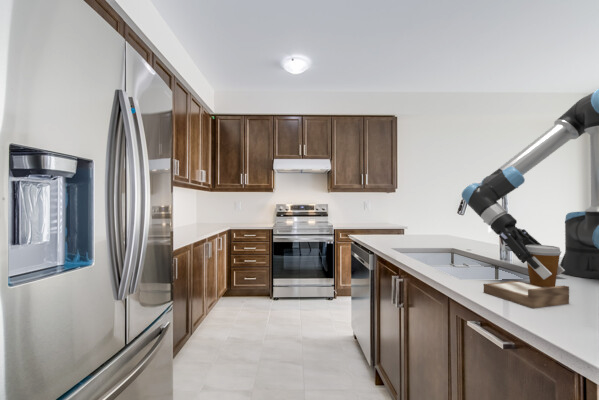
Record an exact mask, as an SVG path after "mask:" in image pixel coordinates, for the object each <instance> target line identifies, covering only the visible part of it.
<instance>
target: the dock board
mask: <svg viewBox="0 0 599 400" xmlns="http://www.w3.org/2000/svg"><path fill="white" fill-rule="evenodd" d="M483 293H485V294H488V295H491V296H494V297H497V298H500V299H503V300H506V301H508V302H512V303H515V304H518V305H520V306H525V307H527V308H531V309H538V308H544V307H545V308H546V307H553V306H561V305H569V304H570V286H568V285H558V286H556V285H555V287H539V286H535V285H532V284H530V283H527V282H522V281H519V280H512V281H502V282H501V281H500V282H490V283H489V282H488V283H484V284H483Z"/></svg>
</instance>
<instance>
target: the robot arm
mask: <svg viewBox="0 0 599 400" xmlns="http://www.w3.org/2000/svg"><path fill="white" fill-rule="evenodd" d="M553 124H554V125H552V126H551V127H550V128H548V130H546V131H545V132H544V133H542V134H541V135H540V136H538V137H537V138H536V139H534V140H533V141H532V142H531V143H530V144H528V145H527V146H526V147H524V148H523V149H522V150H521V151H519V152H518V153H516V154H515V155H514V156H513V157H511V158H510V159H508V161H506V162H505V163H504V164H503V165H501V166H500V167H498V168H497V169H496V170H495V171H493V172H492V173H491V174H489V175H487V176H486V177H484V178H483V179H482V180H481V182H480V184H479V183H477V182H474V183H472V184H469V185H468V186H466V187H465V188H464V189H463V191H462V192H461V198H462V199H463V200H464V201H465V202H466V204H467V205H468V207H470V208H471V209H472V210H473V212H474V213H476V214H477V216H478V217H480V218H481V219H482V220H483V221H482V222H483V223H486V225H487V226H488V227H490V229H491V230H492V231H493V232H494V233H495V235H499V238H500V239H501V240H502V241H503V242H504V244H506V245H507V247H508V248H509V249H510V251H511V252H512V253H513V254H514V255H515V257H516V258H517V259H518V260H519V261H520V262H521V263H522V264H524V263H526V264H527V263H528V264H529V265H530V266H531V267H532V268H533V269H534V270H535V271H536V272H537V273H538V274H539V275H540V276H541V277H542V278H543V280H544V279H546V278H547V277H549V276H550V275H552V273H551V272H550V271H549V270H548V269H547V268H546V267H545V266H544V265H543V264H542V263H541V262H540V261H539V260H538V259H537V258H536V257H532V255H531V254H530V253H529V251H528V250H527V248H526V247H525V246H526V245H542V243H540V242H539V241H538V240H537V239H536V238H534V237H533V236H532V235H531V234H530V233H529V232H528V231H527V230H526V229H522V230H521V228H518V227H517V226H516V224H517V223H518V222H517V221H518V220H517V219H516V218H515V217H513V215H512V214H511V213H508V210H506V209H505V208H504V207H503V206H502V205H501V204H500V203H499V202H498V201H499V200H501V199H502V198H505V196H507V195H508V194H510V193H511V192H513V191H514V190H516V189H518V188H519V187H520V186H522V185H523V184H525V177H524V175H525V174H527V173H528V172H529V171H531V170H532V169H533V168H535V167H536V166H537V165H538V164H540V163H541V162H543V161H544V160H545V159H547V158H548V157H549V156H551V155H552V154H553V153H554V152H556V151H558V150H559V149H560V148H561V147H563V146H564V145H565V144H567V143H568V142H569V141H571V140H576V139H578V138H579V137H581V136H583V134H586V133H587V134H588V135H589V137H590V138H589V139H590V140H589V141H590V142H589V143H590V144H589V148H590V206H589V207H588V208H586V209H585V211H583V210H581V211H571V212H568V213H566V215H565V218H564V220H565V221H564V224H565V225H564V227H565V228H564V229H565V230H564V233H565V234H564V236H565V237H564V238H565V239H564V240H565V242H564V244H565V249H564V250H565V252H564V254H563V256H562V259H561V261H560V264H559V263H558V270H557V276H559V275H560V274H564V275H567V276H573V277H576V278H577V277H578V278H585V279H598V280H599V88H597V89H596V90H595V91H593V92H592V93H590V94H588V95H586V96H583V97H582V98H580V99H578V100H577V101H576V102H575V103H574V104H573V105H572V106H571V107H570V108H569V109H568V110H567V111H565V112H564V113H563V114H562V115H561V116H560V117H558V118H557V119H556V120H555V121H554V123H553ZM531 257H532V258H531Z"/></svg>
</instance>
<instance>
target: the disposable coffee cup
mask: <svg viewBox="0 0 599 400" xmlns="http://www.w3.org/2000/svg"><path fill="white" fill-rule="evenodd" d="M525 247H526V248H527V250H528V251H529V253H530V254H531V255H532V257H536V258H537V259H538V260H539V261H540V262H541V263H542V264H543V265H544V266H545V267H546V268H547V269H548V270H549V271H550V272H551V273H552V275H550V276H549V277H547V278H546V279H544V280H543V278H542V277H541V276H540V275H539V274H538V273H537V272H536V271H535V270H534V269H533V268H532V267H531V266H530V265H529V264H528V263H527V262H526V265H527V272H528V278H529V279H528V280H529V284H531V285H535V286H539V287H543V288H546V287H556V283H557V276H558V275H557V270H558V264H559V262H560V255H561V254H562V251H561V249H560V247H559V246H555V245H546V244H544V245H543V244H541V245H526V246H525ZM532 257H531V258H532Z"/></svg>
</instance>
